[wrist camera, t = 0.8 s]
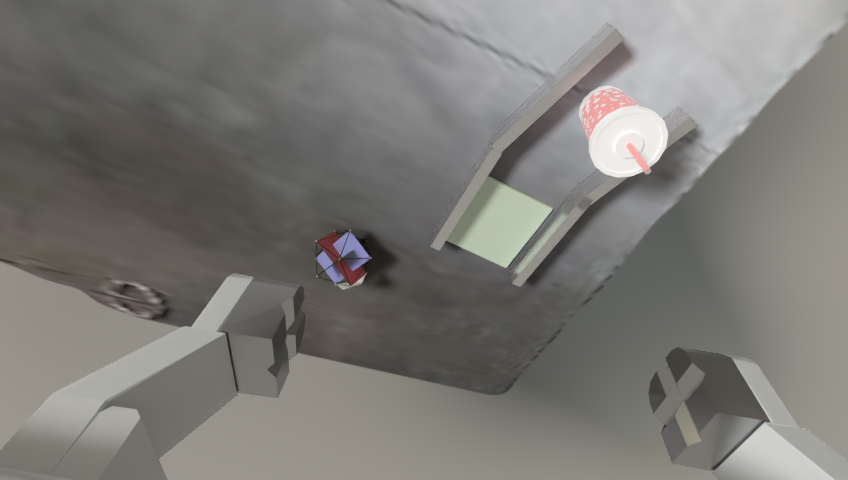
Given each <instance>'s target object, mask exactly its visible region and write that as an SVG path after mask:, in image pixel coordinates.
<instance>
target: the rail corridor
mask: <svg viewBox="0 0 848 480" xmlns="http://www.w3.org/2000/svg"><path fill="white" fill-rule="evenodd" d="M624 39H625V38H624V37H623V36H622V35H621V34H620V33H619V31H618V30H617V29H616V28H615V27H613V26H612V25H610V24H609V23H606V24H605V25H604V26H603V27H602V28H601V29H600V30H599V31H598V32H597V33H596V34H595V35H594V36H593V37H592V38H591V39H590V40H589V41H588V42H586V43H585V44H584V45H583V46H582V47H581V48H580V49H579V50H578V51H577V52H576V53H575V54H574V55H573V56H572V57H571V58H570V59H569V60H568V61H567V62H566V63H565V64H564V65H563V66H562V67H561V68H560V69H559V70H557V71H556V72H555V73H554V74H553V75H552V76H551V77H550V78H549V79H548V80H547V81H546V82H545V83H544V84H543V85H542V86H541V87H540V88H539V89H538V90H537V91H536V92H535V93H534V94H533V95H532V96H531V97H529V98H528V99H527V100H526V101H525V102H524V103H523V104H522V105H521V106H520V107H519V108H518V109H517V110H516V111H515V112H514V113H513V114H512V115H511V116H510V117H509V118H508V119H507V120H506V121H505V122H504V123H503V124H501V125H500V126H499V127H498V128H497V129H496V130H495V131H494V132H493V133H492V134H491V135H490V137H491V138H490V140H489V141H488V143H487V145H486V146H485V148H484V149H483V151H482V153H481V154H480V156H479V158H478V159H477V161H476V162H475V164H474V166H473V167H472V169H471V171H470V172H469V174H468V175H467V177H466V179H465V180H464V182H463V184H462V185H461V187H460V188H459V190H458V192H457V193H456V195H455V197H454V198H453V200H452V201H451V203H450V205H449V206H448V208H447V210H446V211H445V213H444V214H443V216H442V218H441V219H440V221H439V223H438V224H437V226H436V227H435V229H434V231H433V232H432V239H431V246H430V247H433V248H435V249H437V250H439V251H440V249H441V247H442V246H443V244H444V243H445V241H446V240H447V238H448V237H449V235H450V234H451V232H452V230H453V229H454V227H455V226H456V224H457V223H458V221H459V220H460V218H461V217H462V215H463V214H464V212H465V210H466V209H467V207H468V206H469V204H470V203H471V201H472V200H473V198H474V197H475V195H476V193H477V192H478V190H479V189H480V187H481V186H482V184H483V183H484V181H485V180H486V178H487V177H488V175H489V173H490V172H491V170H492V169H493V167H494V166H495V164H496V163H497V161H498V160H499V158H500V156H501V155H502V151H504V150H505V149H506V148H507V147H508V146H509V145H510V144H511V143H512V142H513V141H514V140H515V139H517V138H518V137H519V136H520V135H521V134H522V133H523V132H524V131H525V130H526V129H527V128H528V127H530V126H531V125H532V124H533V123H534V122H535V121H536V120H537V119H538V118H539V117H540V116H541V115H543V114H544V113H545V112H546V111H547V110H548V109H549V108H550V107H551V106H552V105H553V104H554V103H556V102H557V101H558V100H559V99H560V98H561V97H562V96H563V95H564V94H565V93H566V92H567V91H569V90H570V89H571V88H572V87H573V86H574V85H575V84H576V83H577V82H578V81H579V80H580V79H582V78H583V77H584V76H585V75H586V74H587V73H588V72H589V71H590V70H591V69H592V68H593V67H595V66H596V65H597V64H598V63H599V62H600V61H601V60H602V59H603V58H604V57H605V56H606V55H608V54H609V53H610V52H611V51H612V50H613V49H614V48H615V47H616V46H617V45H618V44H619V43H621V42H622V41H623V40H624ZM663 120H664V121H665V124H666V128H667V131H668V139H667V146H666V149H667V148H668V147H669V146H671V145H672V144H673V143H675V142H676V141H677V140H679V139H680V138H681V137H683V136H684V135H686V134H687V133H688V132H690V131H691V130H692V129H694V128H695V127H696V126H698V125H697V124H696V123H695V122H694V120H693V119H692V118H691V117H690V116H689V115H688V114H687V113H685V112H684V111H683V110H682V109H681V108H680V107H677V108H676V109H674V110H673V111H672V112H670V113H669V114H668V115H667V116H665V117H664V118H663ZM626 178H628V177H619V178H617V177H614V176H610V175H606V174H604V173H603V172H602V171H600V170H599V169H598V170H596V171H595V172H594V173H593V174H591V175H590V176H589V177H587V178H586V179H585V180H584V181H582V182H581V183H578V184H577V185H576V187H575V188H573V189H572V190H571V191H570V192H571V193H570V194H569V195H568V197H567V198H566V199H565V200H564V202H563V203H562V204H561V205H560V207H559V208H558V209H557V210H556V212H555V213H554V214H553V215H552V217H551V218H550V219H549V220H548V222H547V223H546V224H545V225H544V227H543V228H542V229H541V230H540V232H539V233H538V234H537V235H536V237H535V238H534V239H533V240H532V242H531V243H530V244H529V245H528V247H527V248H526V249H525V250H524V252H523V253H522V254H521V255H520V257H519V258H518V259H517V260H516V262H515V263H514V264H513V265H512V267H511V268H510V270H511V280H512V284H514V285H517V286H519V287H521V286H522V284H523V283H524V282H525V281H526V280H527V279H528V277H529V276H530V275H531V274H532V273H533V271H534V270H535V269H536V268H537V267H538V266H539V264H540V263H541V262H542V261H543V260H544V259H545V257H546V256H547V255H548V254H549V253H550V251H551V250H552V249H553V248H554V247H555V246H556V244H557V243H558V242H559V241H560V240H561V239H562V237H563V236H564V235H565V234H566V233H567V231H568V230H569V229H570V228H571V227H572V226H573V224H574V223H575V222H576V221H577V220H578V219H579V217H580V216H581V215H582V214H583V213H584V211H585V210H586V209H587V208H588V207H589V206H590V205H591V204H593V203H594V202H595V201H597V200H598V199H599V198H601V197H602V196H604V195H605V194H606V193H608V192H609V191H610V190H612V189H613V188H614V187H616V186H617V185H618V184H620V183H621V182H622V181H624V180H625V179H626Z"/></svg>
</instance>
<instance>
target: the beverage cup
mask: <svg viewBox="0 0 848 480" xmlns="http://www.w3.org/2000/svg"><path fill="white" fill-rule="evenodd" d="M579 117H580V120H581V122H582V125H583V128H584V131H585V133H586V136H587V139H588V142H589V153H590V156H591V158H592V160H593V163H594V165H595V167H597V168H598V169H599V170H600V171H602V172H603V173H604V174H606V175H610V176H614V177H617V178H619V177H630V176H634V175H636V174H639V173H641V172H643V171H644V173H645V174H650V173H651V169H650V167H651V166H652V165H653V164H654V163H656V162H657V161H658V160H659V158H660V157H661V155H662V153H663V152H664V150H665V149H666V146H667V139H668V131H667V128H666V124H665V121H664V120H663V119H662V118H661V117H659V116H658V115H657V114H656V113H655V112H654V111H652V110H651V109H649V108H645V107H642V106H641V105H639V104H638V103H637V102H636V101H634V100H633V99H632V98H630V97H629V96H628V95H626V94H625V93H624V92H623V91H621V90H620V89H619V88H616V87H612V86H603V87H599V88H597V89H595V90H593V91H591V92H590V93H589V94H588V95H587V96H586V97H585V98H584V99H583V101H582V103H581V106H580V111H579Z"/></svg>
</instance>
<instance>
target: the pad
mask: <svg viewBox="0 0 848 480" xmlns="http://www.w3.org/2000/svg"><path fill="white" fill-rule="evenodd" d="M552 210H553V207H551V206H549V205H547V204H545V203H543V202H541V201H539V200H537V199H535V198H533V197H531V196H529V195H527V194H525V193H523V192H521V191H519V190H517V189H515V188H513V187H511V186H509V185H507V184H505V183H503V182H501V181H499V180H497V179H495V178H493V177H491V176H488V177H487V178H486V180H485V181H484V183H483V184H482V186H481V187H480V189H479V190H478V192H477V193H476V195H475V197H474V198H473V200H472V201H471V203H470V204H469V206H468V207H467V209H466V210H465V212H464V214H463V215H462V217H461V218H460V220H459V221H458V223H457V224H456V226H455V227H454V229H453V230H452V232H451V234H450V235H449V237H448V238H447V240H446V241H448V242H450V243H452V244H455V245H457V246H459V247H461V248H463V249H466V250H468V251H470V252H472V253H474V254H477V255H479V256H481V257H483V258H485V259H487V260H490V261H492V262H494V263H496V264H498V265H501V266H503V267H505V268H507V266H508V265H509V264H510V263H511V261H512V260H513V259H514V258H515V256H516V255H517V254H518V253H519V251H520V250H521V249H522V248H523V246H524V245H525V244H526V243H527V241H528V240H529V239H530V237H531V236H532V235H533V234H534V232H535V231H536V230H537V229H538V227H539V226H540V225H541V224H542V222H543V221H544V220H545V219H546V217H547V216H548V215H549V214H550V212H551V211H552Z"/></svg>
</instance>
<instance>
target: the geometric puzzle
mask: <svg viewBox="0 0 848 480" xmlns="http://www.w3.org/2000/svg"><path fill="white" fill-rule="evenodd" d="M348 231H349V232H348ZM346 232H347V233H346V234H344V236H342V237H341V238H339V236H338V235H339V234H336V231H334V232H333V233H331V234H329V235H327V236H325V237H324V238H322V239H320V240H318V241H316V247H317V243H318V244H319V245H320V247H321V248H322V249H323V251H324V252H322V253H321V254H320V255H319V254H318V255H319V256H318V255H317V256H316V258H315V259H316V260H317V261H318V262H319V264H320V265H321V266H322V267H323V269H324V271H326V273H327V274H328V275H329V277H330V278H331V279H332V281H333V282H334V283H335V285H337V286H338V287H340V288H341V289H342V290H346V289H352V288H354V287H356V286H358V285H360V284H362V282H363V280H364V278H365V276H366V274H367V263H368V262H369V261H368V260H369V259H370V260H371V256H369V254H368V253H367V252H366V251H365V249H364V248H363V247H362V244H363V243H365V242H366V241H367V240H366V241H365V240H363V241H365V242H363V243H362V244H360V243H359V241H358V240H357V239H359V238H357V239H356V237H355V236H354V235H353V233H352V232H351V230H346ZM337 233H339V232H337ZM343 233H345V232H343ZM340 234H342V233H340ZM360 240H362V239H360ZM366 243H367V242H366ZM322 249H321V250H322ZM368 250H369V249H368ZM320 252H321V251H320ZM320 252H319V253H320ZM367 261H368V262H367ZM365 262H366V265H365V266H366V272H365V271H364V268H362V267H361V265H362V264H364V263H365ZM368 267H369V266H368ZM316 271H317V268H316ZM324 271H323V272H324ZM323 272H321V273H323ZM321 273H320V274H321ZM320 274H319V275H320ZM319 275H318V276H319ZM318 276H316V277H318ZM319 278H321V277H319ZM343 278H345V281H347V282H348V283H341V282H339V281H340V280H342V279H343ZM324 280H325V278H324ZM327 280H328V279H327ZM330 281H331V280H330ZM338 282H339V283H341V284H338ZM342 282H344V281H342ZM331 283H332V282H331ZM336 283H337V284H336Z"/></svg>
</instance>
